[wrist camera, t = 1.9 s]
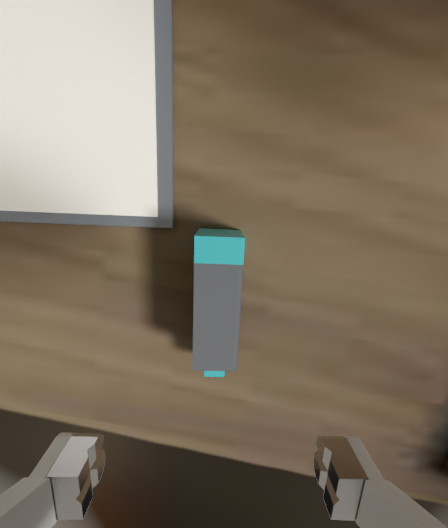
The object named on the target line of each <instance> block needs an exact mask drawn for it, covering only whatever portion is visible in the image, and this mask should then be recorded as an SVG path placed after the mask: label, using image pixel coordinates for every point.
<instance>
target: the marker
mask: <svg viewBox="0 0 448 528" xmlns="http://www.w3.org/2000/svg"><path fill="white" fill-rule="evenodd" d="M244 247H245V237H244V235H243V234H242V232H241V231H240V230H229V229H204V228H199V229H198V231H197V232H196V234H195V236H194V298H193V370H197V371H204V377H225V371H237V358H238V342H239V326H240V310H241V295H242V279H243V263H244Z"/></svg>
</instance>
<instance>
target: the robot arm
mask: <svg viewBox="0 0 448 528" xmlns="http://www.w3.org/2000/svg"><path fill="white" fill-rule="evenodd" d="M103 443H104V438H103V434H89V433H88V434H87V433H60V434H59V435H58V436H57V437H56V438H55V439H54V441H53V442H52V444H51V445H50V447H49V448H48V450H47V451H46V453H45V454H44V455H43V457H42V458H41V460H40V462H39V463H38V464H37V466H36V467H35V469H34V470H33V472H32V474H31V475H30V476H29V478H23V479H22V480H20V481H19V482H18V483H16V484H15V485H14V486H12V487H11V488H10V489H8V490H7V491H5V492H4V493H2V494H1V495H0V528H52V526H53V525H54V524H55V523H56V520H77V519H84V516H85V514H86V512H87V509H88V507H89V505H90V502H91V500H92V497H93V495H92V488H93V487H94V486H96V485H97V484H98V483H99V480H100V478H101V475H102V472H103V468H104V464H105V451H104V450H103V449H102V448H101V447H102V445H103ZM316 446H317V449H318V450H317V451H316V452H315V453H314V460H313V462H314V471H315V475H316V479H317V481H318V484H319V485H320V486H321V487H322V488H323V489H324V496H323V499H324V501H325V504H326V507H327V510H328V512H329V515H330V518H331V520H352V521H356V523H357V524H358V526H359V527H360V528H447V527H446V526H445V525H443V524H442V523H441V522H439V521H438V520H437V519H436V518H434V517H433V516H432V515H431V514H430V513H429V512H427V511H426V510H425V509H424V508H422V507H421V506H420V505H419V504H417V503H416V502H415V501H414V500H412V499H411V498H410V497H409V496H408V495H406V494H405V493H404V492H403V491H401V490H400V489H399V488H398V487H396V486H395V485H394V484H393V483H392V482H390V481H389V480H384V478H383V476H382V475H381V473H380V471H379V470H378V468H377V466H376V465H375V463H374V461H373V460H372V458H371V456H370V455H369V453H368V451H367V450H366V448H365V446H364V445H363V443H362V441H361V440H360V439H359V438H358V437H343V436H318V438H317V441H316Z"/></svg>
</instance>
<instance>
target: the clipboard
mask: <svg viewBox="0 0 448 528" xmlns="http://www.w3.org/2000/svg"><path fill="white" fill-rule="evenodd" d="M0 221H5V222H30V223H55V224H80V225H105V226H131V227H156V228H174V188H173V13H172V0H0Z"/></svg>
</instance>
